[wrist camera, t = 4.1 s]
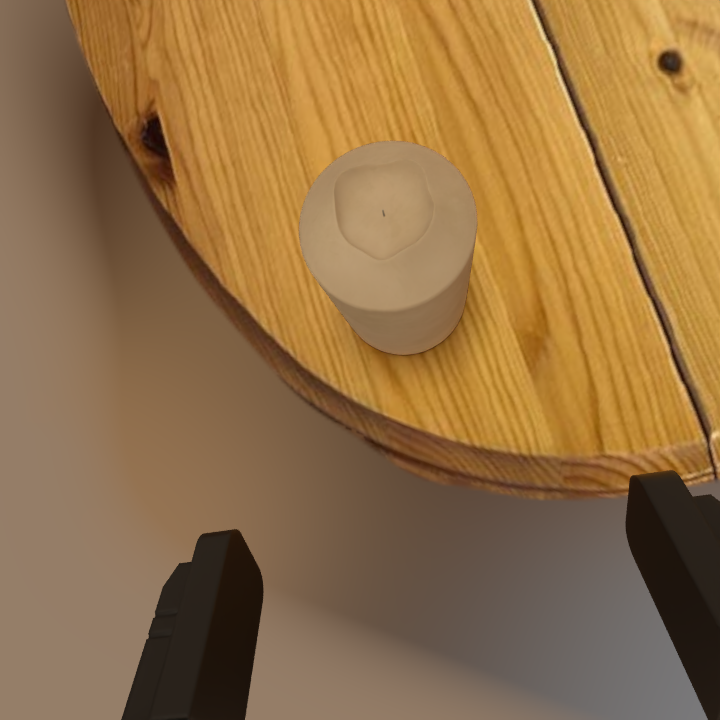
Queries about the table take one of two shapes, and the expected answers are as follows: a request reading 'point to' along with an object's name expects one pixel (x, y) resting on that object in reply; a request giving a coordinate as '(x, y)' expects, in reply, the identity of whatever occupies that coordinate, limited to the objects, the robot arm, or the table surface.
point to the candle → (392, 243)
